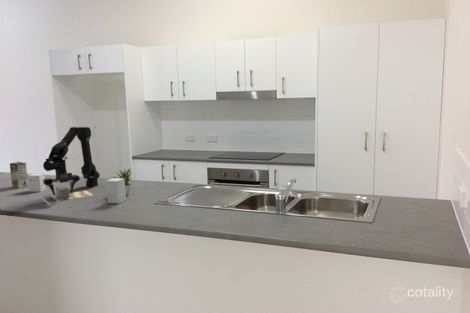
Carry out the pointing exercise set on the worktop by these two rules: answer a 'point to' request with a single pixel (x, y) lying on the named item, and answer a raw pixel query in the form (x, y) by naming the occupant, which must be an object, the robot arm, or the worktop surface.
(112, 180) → the supplement box
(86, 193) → the board
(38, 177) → the small box
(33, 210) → the worktop surface
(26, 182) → the coffee box
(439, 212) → the worktop surface
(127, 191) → the house plant
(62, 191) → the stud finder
